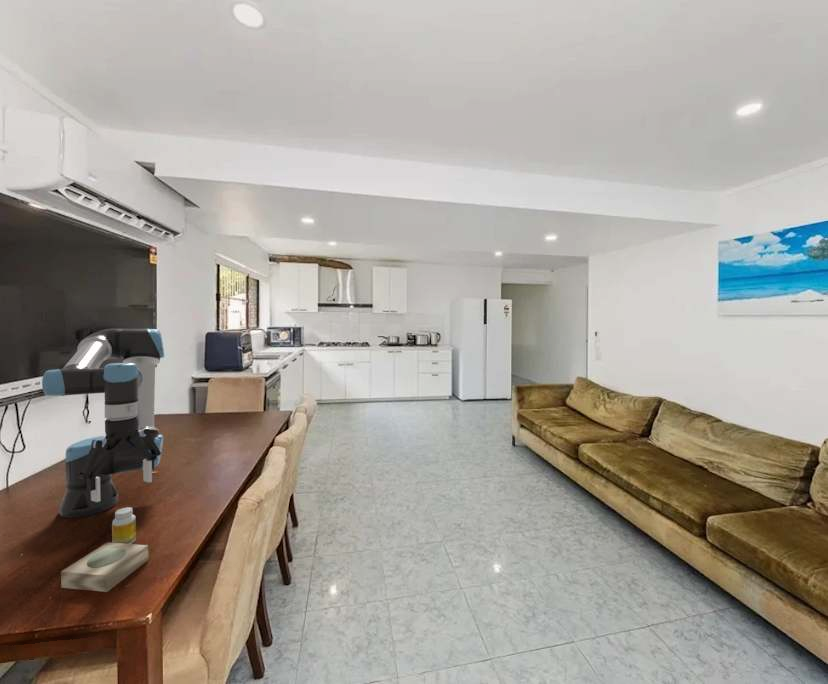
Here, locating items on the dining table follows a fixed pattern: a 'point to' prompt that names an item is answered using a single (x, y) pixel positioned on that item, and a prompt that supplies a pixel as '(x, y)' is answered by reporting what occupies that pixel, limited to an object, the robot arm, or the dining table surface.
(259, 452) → the dining table surface
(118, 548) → the pedestal
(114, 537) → the supplement bottle
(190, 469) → the dining table surface
